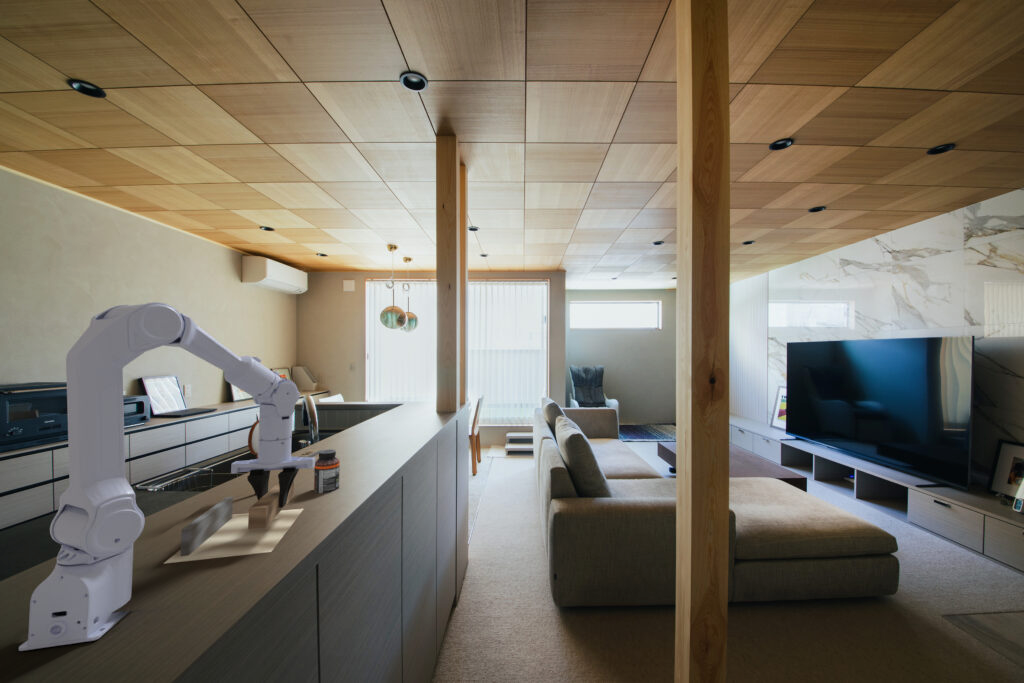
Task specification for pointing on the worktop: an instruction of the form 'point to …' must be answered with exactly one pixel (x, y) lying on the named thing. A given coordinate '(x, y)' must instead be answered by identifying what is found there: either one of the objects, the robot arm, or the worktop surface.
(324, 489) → the supplement bottle
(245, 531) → the board
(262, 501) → the walnut bar
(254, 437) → the magnifying glass
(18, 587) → the worktop surface
